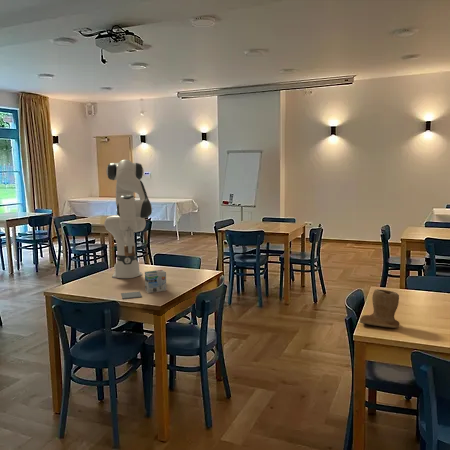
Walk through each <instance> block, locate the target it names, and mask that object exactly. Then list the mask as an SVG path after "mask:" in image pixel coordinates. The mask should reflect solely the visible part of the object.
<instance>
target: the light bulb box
mask: <svg viewBox="0 0 450 450" xmlns="http://www.w3.org/2000/svg"><path fill="white" fill-rule="evenodd" d="M144 288H145V289H144V290H145V291H146V292H147V293H148V294H150V293H151V294H152V293H157V292H160V293H161V292H167V271H165V270H163V269H158V270H157V269H156V270H149V271H148V270H147V271H144Z"/></svg>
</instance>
